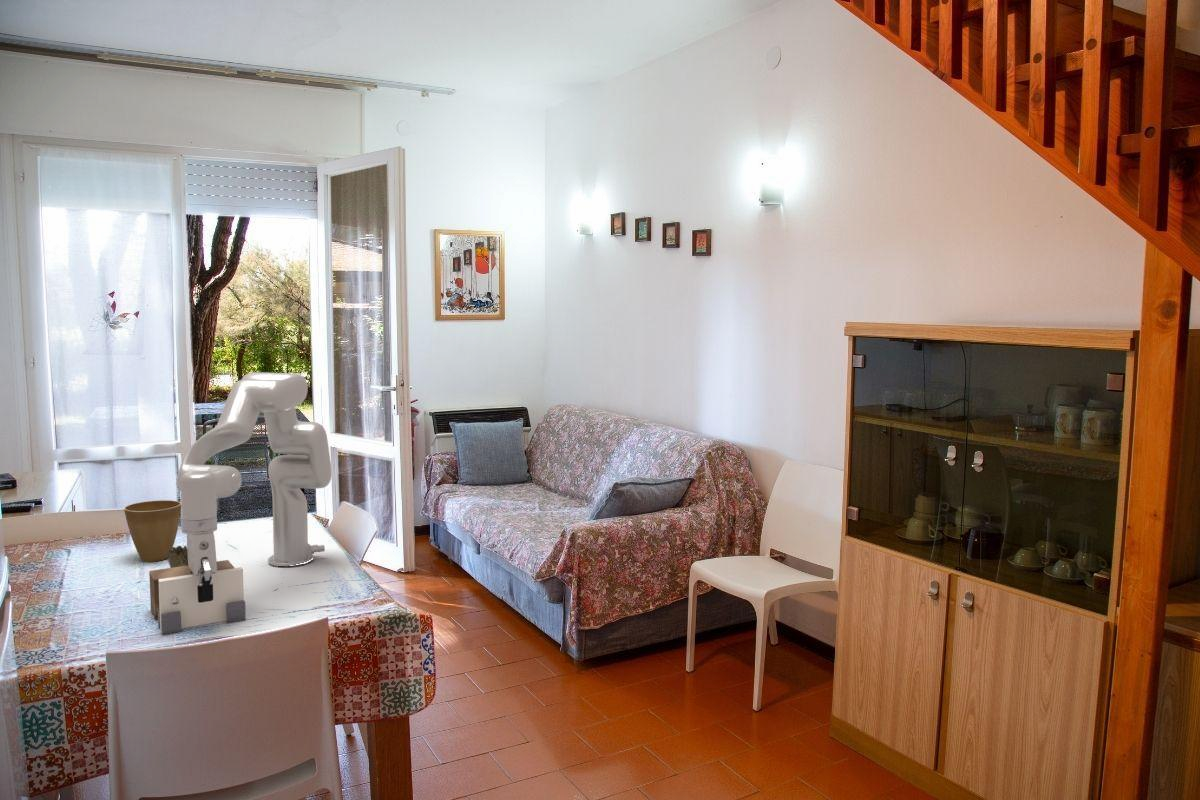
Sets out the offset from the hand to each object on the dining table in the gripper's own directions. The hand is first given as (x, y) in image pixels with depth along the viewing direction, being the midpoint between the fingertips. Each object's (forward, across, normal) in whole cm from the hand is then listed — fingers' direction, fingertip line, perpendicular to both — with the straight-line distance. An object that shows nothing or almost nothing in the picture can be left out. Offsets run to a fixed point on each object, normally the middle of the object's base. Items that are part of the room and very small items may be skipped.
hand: (201, 595), depth 203 cm
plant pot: (+7, +62, +2) cm, 63 cm away
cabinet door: (+7, 0, 0) cm, 7 cm away
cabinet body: (+7, +12, 0) cm, 13 cm away
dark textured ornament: (+7, +40, -2) cm, 40 cm away
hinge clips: (+7, 0, 0) cm, 7 cm away
